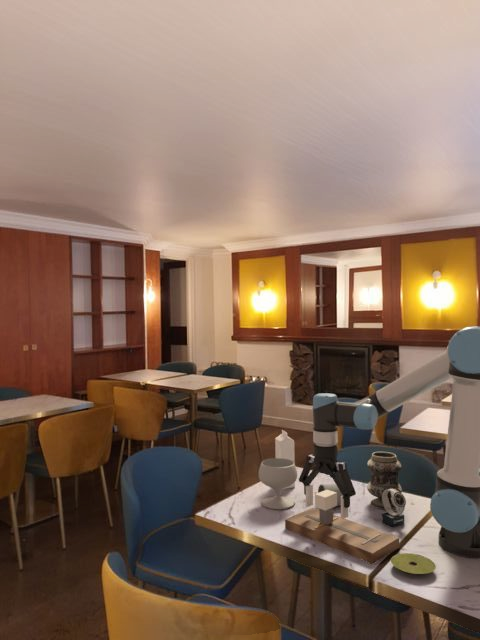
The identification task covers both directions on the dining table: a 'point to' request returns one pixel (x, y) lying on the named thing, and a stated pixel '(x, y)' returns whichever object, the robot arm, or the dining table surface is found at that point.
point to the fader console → (344, 535)
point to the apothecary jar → (383, 476)
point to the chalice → (278, 481)
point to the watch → (391, 516)
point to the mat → (413, 563)
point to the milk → (285, 449)
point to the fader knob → (326, 505)
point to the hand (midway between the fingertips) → (326, 511)
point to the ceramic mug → (332, 488)
